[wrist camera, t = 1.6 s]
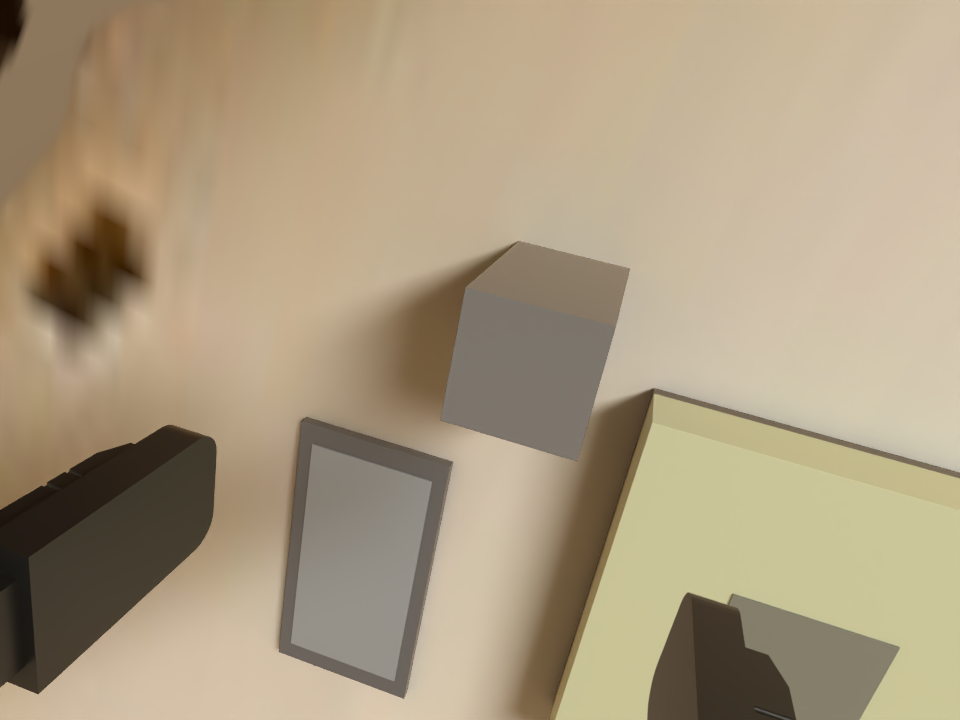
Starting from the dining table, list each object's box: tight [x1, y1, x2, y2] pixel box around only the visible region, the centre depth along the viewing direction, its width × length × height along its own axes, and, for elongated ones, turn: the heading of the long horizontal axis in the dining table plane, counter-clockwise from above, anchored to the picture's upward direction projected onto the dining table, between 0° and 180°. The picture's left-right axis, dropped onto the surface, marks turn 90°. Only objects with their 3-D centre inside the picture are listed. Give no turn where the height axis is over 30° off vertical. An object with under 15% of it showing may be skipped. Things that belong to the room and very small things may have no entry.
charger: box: [440, 241, 630, 461], centre depth 22 cm, size 4×4×7 cm
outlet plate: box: [550, 388, 960, 720], centre depth 24 cm, size 16×24×3 cm, turn 79°
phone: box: [279, 417, 453, 699], centre depth 31 cm, size 13×7×1 cm, turn 169°
